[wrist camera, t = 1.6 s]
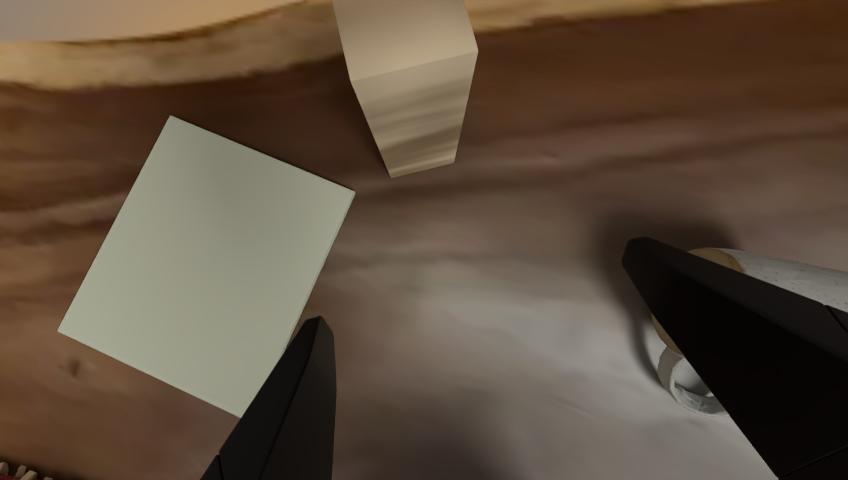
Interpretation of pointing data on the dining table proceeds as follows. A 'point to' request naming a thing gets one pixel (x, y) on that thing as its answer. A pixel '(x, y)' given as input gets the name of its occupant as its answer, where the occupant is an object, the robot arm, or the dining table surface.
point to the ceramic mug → (794, 276)
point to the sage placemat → (208, 265)
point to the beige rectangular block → (410, 75)
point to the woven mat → (18, 473)
